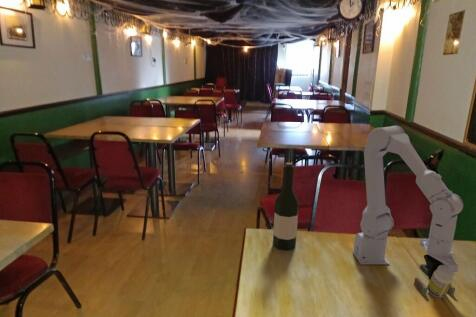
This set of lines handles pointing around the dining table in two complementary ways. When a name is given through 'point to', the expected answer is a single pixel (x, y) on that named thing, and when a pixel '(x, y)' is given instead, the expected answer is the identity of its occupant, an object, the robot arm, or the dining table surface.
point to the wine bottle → (286, 213)
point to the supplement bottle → (440, 281)
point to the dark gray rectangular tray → (424, 268)
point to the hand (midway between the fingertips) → (432, 280)
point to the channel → (423, 288)
